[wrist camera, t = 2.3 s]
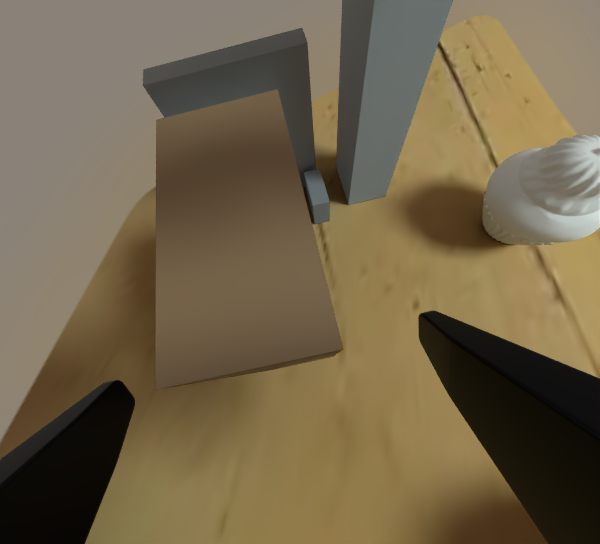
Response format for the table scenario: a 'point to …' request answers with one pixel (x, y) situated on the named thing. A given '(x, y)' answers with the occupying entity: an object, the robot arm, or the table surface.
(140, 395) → the table surface
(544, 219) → the muffin
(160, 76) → the grey gallows bracket
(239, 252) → the brown wooden block
